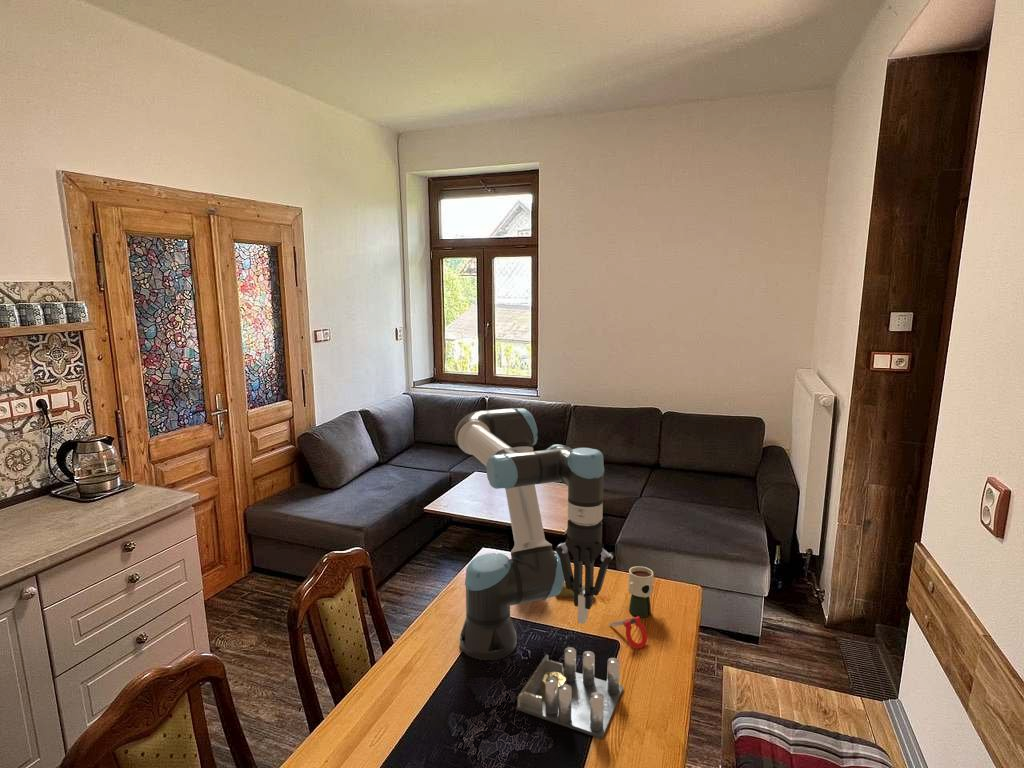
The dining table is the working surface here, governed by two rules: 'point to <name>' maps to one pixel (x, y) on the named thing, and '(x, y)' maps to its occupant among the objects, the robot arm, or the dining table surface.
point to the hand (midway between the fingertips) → (582, 620)
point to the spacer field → (573, 694)
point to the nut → (557, 675)
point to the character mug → (640, 590)
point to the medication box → (569, 592)
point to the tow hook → (628, 631)
